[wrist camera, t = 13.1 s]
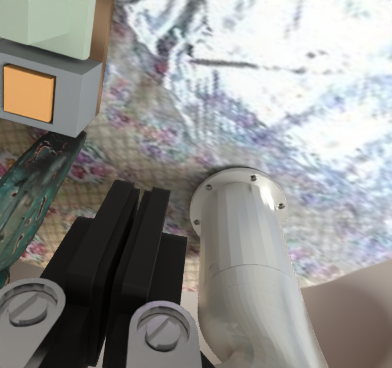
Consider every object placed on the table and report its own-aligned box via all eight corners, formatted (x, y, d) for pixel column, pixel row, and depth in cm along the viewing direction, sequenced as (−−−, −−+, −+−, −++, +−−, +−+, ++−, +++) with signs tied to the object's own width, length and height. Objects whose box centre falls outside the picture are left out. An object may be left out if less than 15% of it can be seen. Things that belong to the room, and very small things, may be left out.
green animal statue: (39, 241, 49) (-54, 378, 32) (-4, 219, 48) (-128, 351, 30) (103, 135, 41) (23, 241, 23) (52, 104, 39) (-74, 194, 22)
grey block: (95, 116, 38) (75, 137, 33) (11, 93, 37) (-24, 111, 32) (102, 62, 35) (82, 75, 30) (11, 36, 34) (-27, 44, 29)
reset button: (67, 106, 36) (48, 122, 32) (29, 95, 36) (4, 110, 31) (71, 68, 34) (51, 79, 30) (30, 56, 34) (3, 66, 29)
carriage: (89, 56, 34) (47, 79, 25) (17, 35, 33) (-52, 51, 24) (98, -24, 30) (53, -30, 22) (18, -49, 30) (-61, -65, 21)
